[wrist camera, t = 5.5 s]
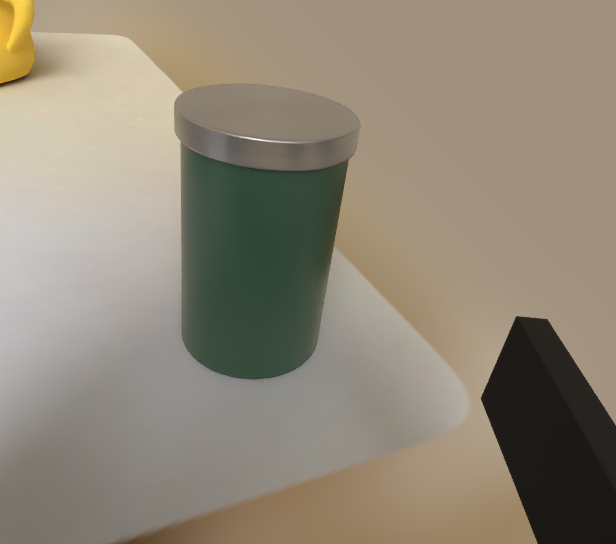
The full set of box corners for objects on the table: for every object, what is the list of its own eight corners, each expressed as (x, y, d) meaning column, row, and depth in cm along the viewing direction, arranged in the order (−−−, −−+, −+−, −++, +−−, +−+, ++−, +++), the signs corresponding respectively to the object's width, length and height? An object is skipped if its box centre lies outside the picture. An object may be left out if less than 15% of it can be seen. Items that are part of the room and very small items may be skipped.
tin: (350, 351, 23) (399, 130, 18) (220, 405, 20) (233, 150, 14) (272, 277, 27) (293, 80, 22) (154, 311, 24) (144, 86, 18)
